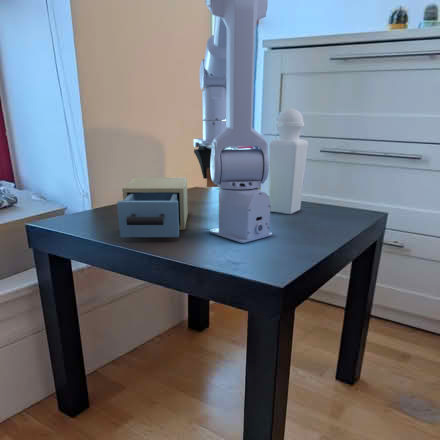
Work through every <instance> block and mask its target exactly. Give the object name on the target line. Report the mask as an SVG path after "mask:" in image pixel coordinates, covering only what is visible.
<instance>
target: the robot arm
mask: <svg viewBox="0 0 440 440" xmlns="http://www.w3.org/2000/svg"><path fill="white" fill-rule="evenodd" d="M204 3H205V4H204V5H205V6H206V7H207V9H208V11H209V12H210V13H211V15H212V16H214V20H213V21H214V22H213V35H211V36H210V37H209V38H208V39H207V41H206V45H205V53H204V58H202V60H201V61H200V65H199V73H198V74H199V87H200V90H201V95H202V97H201V98H202V100H201V102H202V103H201V104H202V105H201V106H202V138H193V147H194V148H197V149H193V153H194V155H195V156H196V158H197V159H196V160H197V161H198V164H199V166H200V170H201V174H202V178H203V179H204V180H207V168H210V171H211V179H212V181H213V183H214V184H215V185H218V186H219V187H218V227H217V228H212V229H209V231H208V232H209V233H210V234H212V235H216V236H219V237H222V238H225V239H228V240H231V241H235V242H238V243H241V244H245V243H249V242H253V241H256V240H260V239H264V238H267V237H271V236H273V233H272V232H271V231H270V228H271V227H270V226H271V225H270V224H271V212H270V210H271V202H270V198H269V194H268V193H267V192H265V191H262V190H261V188H262V185H263V184H264V183H265V182H266V181H267V180H268V178H269V151H268V150H269V149H268V148H269V146H268V142H267V140H266V138H265V137H264V136H262V135H261V134H260V133H259V132H257V131H256V129H254V128H253V119H254V118H253V117H254V79H255V78H254V76H255V43H256V42H255V41H256V40H255V39H256V29H257V23H258V20H262V19H264V18H265V17H267V12H268V3H269V0H204ZM239 147H254V148H239ZM259 188H260V189H259Z"/></svg>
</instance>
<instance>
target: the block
mask: <svg viewBox="0 0 440 440" xmlns="http://www.w3.org/2000/svg"><path fill="white" fill-rule="evenodd" d="M206 188H219V186H218V185H215V184H214V183H213V181H212V179H211V171H210V168H207V179H206Z"/></svg>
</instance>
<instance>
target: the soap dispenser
mask: <svg viewBox="0 0 440 440" xmlns="http://www.w3.org/2000/svg"><path fill="white" fill-rule="evenodd" d="M275 125H276V128H277V130H278V134H279V138H278V139H272V140H271V141H270V142H269V155H268V157H269V173H268V179H269V180H268V196H269V198H270V202H271V210H270V213H271V212H272V213H277V214H283V215H284V214H285V215H292V214H294V213H296V212H298V211H300V210H301V206H302V197H303V191H304V190H303V189H304V180H305V174H306V173H305V172H306V164H307V156H308V147H309V142H308V141H307V140H306V139H302V138H300V137H301V136H300V135H301V132H302V130H303V128H304V127H305V122H304V117H303V115H302V112H300V111H299V110H298V109H295V108H286V109H285V110H283V111H282V112H281V113H280V115H279V117H278V119H277V122H276V124H275Z"/></svg>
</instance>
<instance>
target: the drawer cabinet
mask: <svg viewBox="0 0 440 440" xmlns="http://www.w3.org/2000/svg"><path fill="white" fill-rule="evenodd" d="M121 190H122V191H121V192H122V201H124V200H125V199H126V198H127V196H128V195H129V194H130V193H178V197H179V231H185V230H186V225H187V219H188V214H189V212H188V211H189V210H188V209H189V208H188V207H189V206H188V205H189V204H188V178H187V176H185V177H181V176H179V177H178V176H177V177H175V176H173V177H171V176H169V177H167V176H165V177H163V176H161V177H159V176H158V177H156V176H155V177H154V176H153V177H152V176H151V177H150V176H149V177H147V176H146V177H144V176H143V177H142V176H141V177H140V176H139V177H137V176H136V177H135V176H134V177H133V178H131V179H130V181H128V182H127V183H126V184H125V185H123V187H122V188H121Z"/></svg>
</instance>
